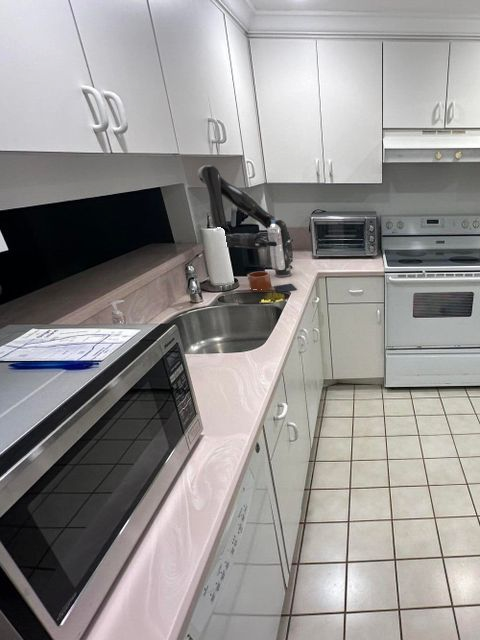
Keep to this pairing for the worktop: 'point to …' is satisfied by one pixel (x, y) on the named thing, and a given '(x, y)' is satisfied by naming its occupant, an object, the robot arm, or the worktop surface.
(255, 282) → the pot
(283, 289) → the dish mat
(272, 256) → the water bottle
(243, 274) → the worktop surface
